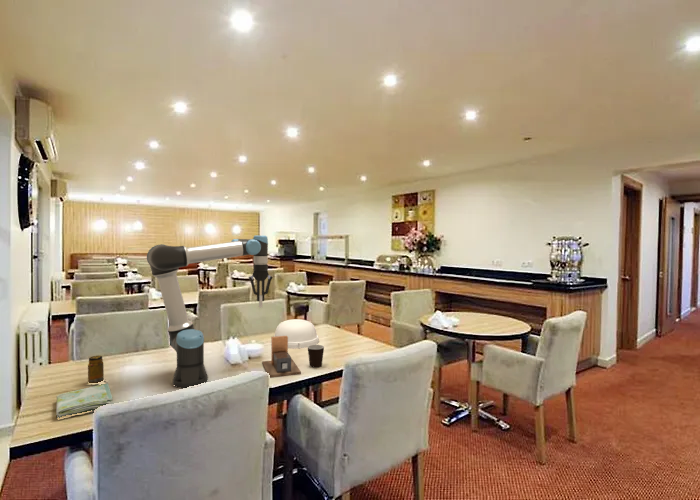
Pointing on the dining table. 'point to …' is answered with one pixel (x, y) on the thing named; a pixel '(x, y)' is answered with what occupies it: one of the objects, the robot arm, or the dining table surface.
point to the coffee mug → (315, 355)
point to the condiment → (95, 369)
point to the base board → (272, 372)
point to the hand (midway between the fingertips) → (260, 307)
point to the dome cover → (298, 333)
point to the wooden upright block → (279, 348)
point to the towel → (83, 400)
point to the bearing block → (282, 358)
